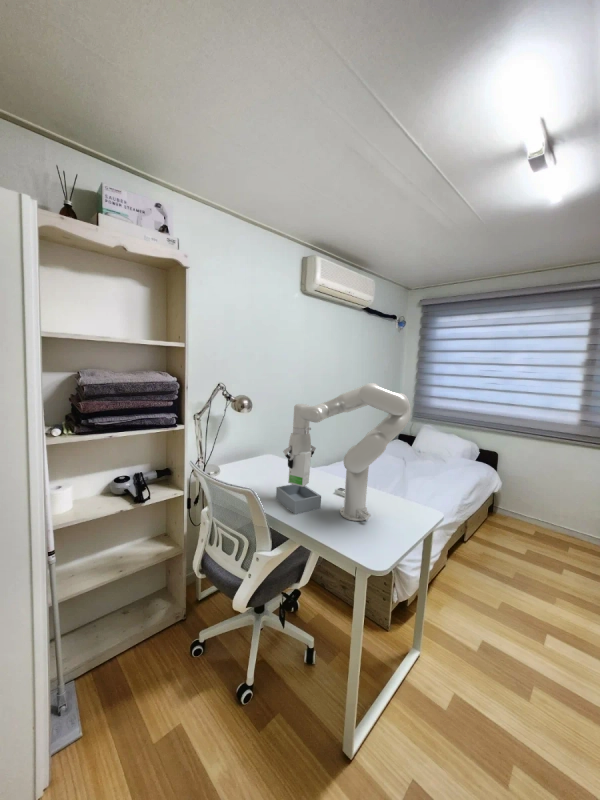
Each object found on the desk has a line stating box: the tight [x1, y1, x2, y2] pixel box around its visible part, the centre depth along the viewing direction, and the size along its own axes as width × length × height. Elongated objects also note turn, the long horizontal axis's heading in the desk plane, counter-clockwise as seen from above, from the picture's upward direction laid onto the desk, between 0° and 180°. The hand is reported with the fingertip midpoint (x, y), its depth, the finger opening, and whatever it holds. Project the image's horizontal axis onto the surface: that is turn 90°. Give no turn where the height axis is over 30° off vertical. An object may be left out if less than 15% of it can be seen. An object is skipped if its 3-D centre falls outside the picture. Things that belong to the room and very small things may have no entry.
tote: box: [275, 484, 322, 515], centre depth 146 cm, size 18×14×6 cm
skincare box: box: [287, 451, 312, 487], centre depth 145 cm, size 8×7×16 cm
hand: (299, 466), depth 145 cm, fingers closed on skincare box, 9 cm apart
